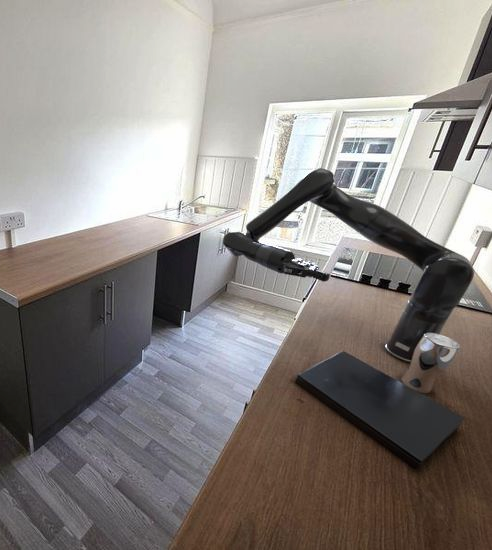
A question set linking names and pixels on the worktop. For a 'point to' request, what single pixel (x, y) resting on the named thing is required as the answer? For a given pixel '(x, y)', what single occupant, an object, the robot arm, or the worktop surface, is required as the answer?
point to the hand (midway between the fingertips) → (327, 278)
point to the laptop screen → (383, 404)
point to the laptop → (366, 429)
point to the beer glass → (429, 361)
